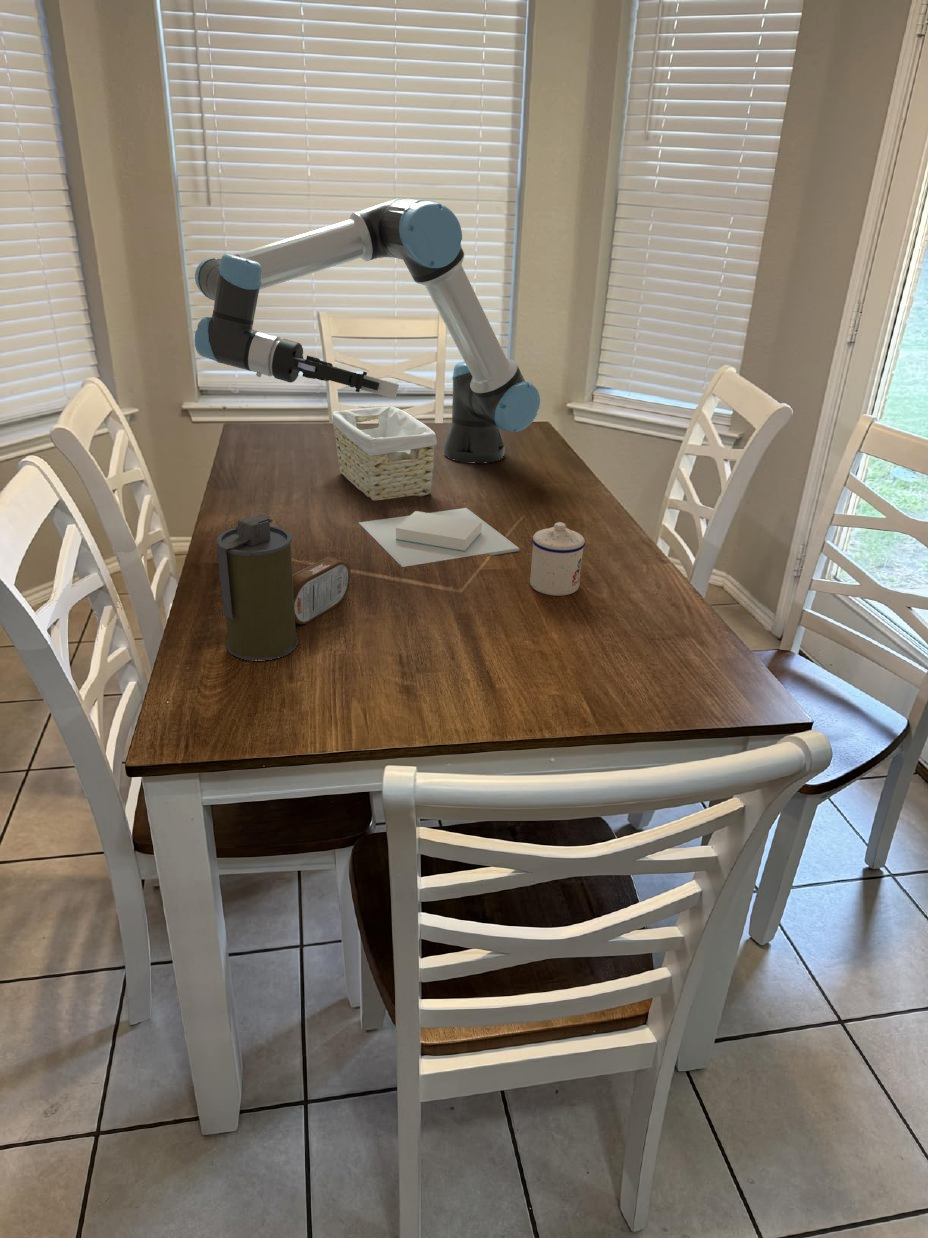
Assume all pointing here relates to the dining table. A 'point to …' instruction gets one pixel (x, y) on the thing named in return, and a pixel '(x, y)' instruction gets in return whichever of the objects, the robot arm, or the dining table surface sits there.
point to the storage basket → (385, 452)
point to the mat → (424, 554)
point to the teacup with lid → (556, 560)
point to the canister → (257, 589)
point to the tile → (439, 531)
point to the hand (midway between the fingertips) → (396, 391)
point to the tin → (319, 588)
